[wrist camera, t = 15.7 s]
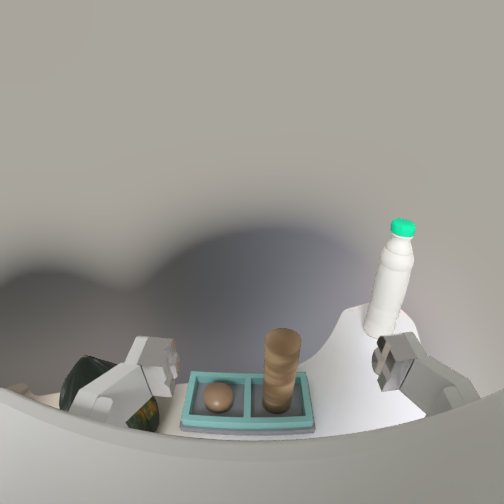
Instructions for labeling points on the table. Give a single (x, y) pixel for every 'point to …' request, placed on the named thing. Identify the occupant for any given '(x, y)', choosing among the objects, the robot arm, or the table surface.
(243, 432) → the housing plate
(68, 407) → the squash
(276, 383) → the oak post
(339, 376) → the table surface
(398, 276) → the water bottle
